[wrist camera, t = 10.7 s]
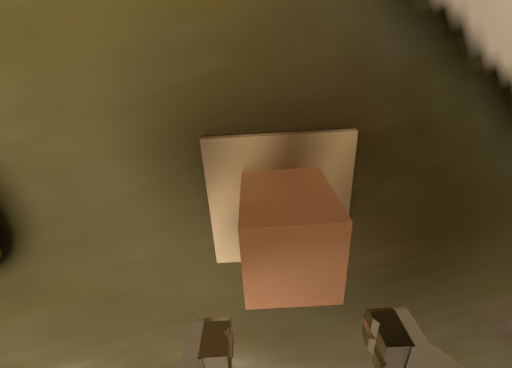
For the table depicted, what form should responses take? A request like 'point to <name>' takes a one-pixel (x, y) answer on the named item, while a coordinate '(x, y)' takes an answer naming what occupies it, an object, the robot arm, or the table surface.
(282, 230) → the salmon orange block
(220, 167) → the post stand
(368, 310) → the robot arm
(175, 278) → the table surface
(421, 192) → the table surface
